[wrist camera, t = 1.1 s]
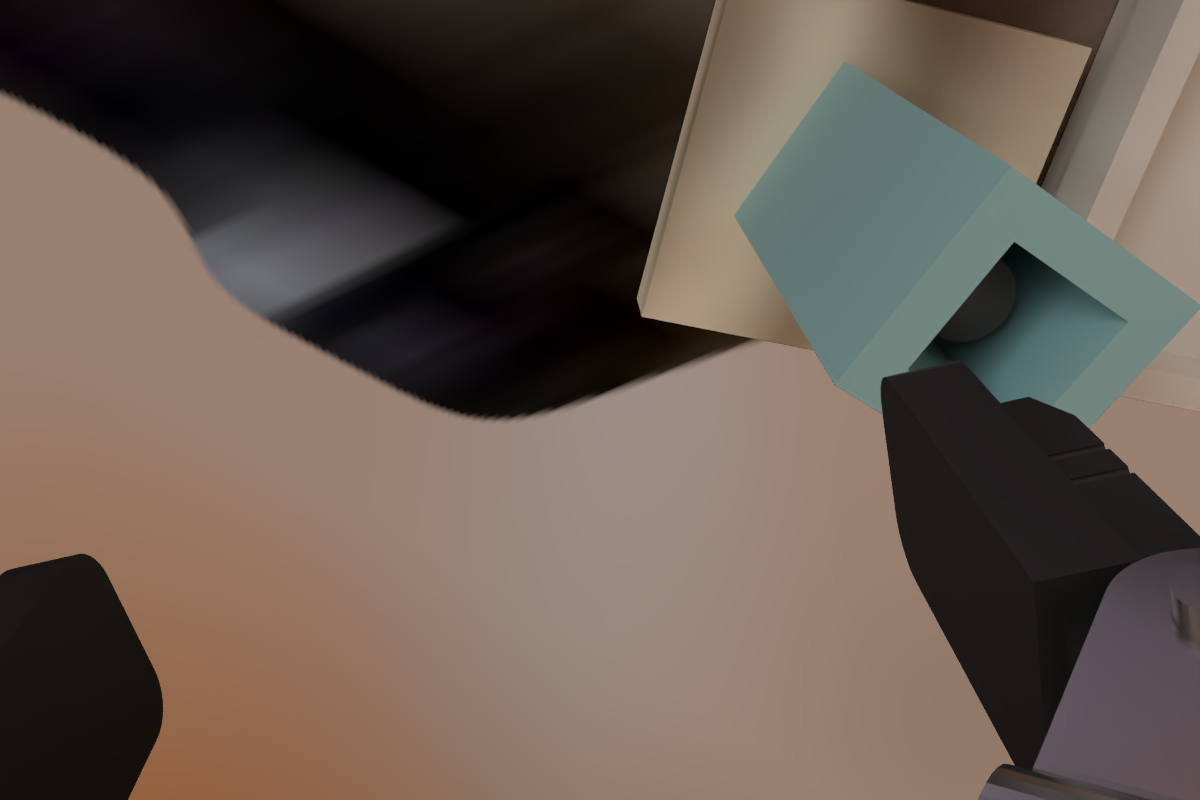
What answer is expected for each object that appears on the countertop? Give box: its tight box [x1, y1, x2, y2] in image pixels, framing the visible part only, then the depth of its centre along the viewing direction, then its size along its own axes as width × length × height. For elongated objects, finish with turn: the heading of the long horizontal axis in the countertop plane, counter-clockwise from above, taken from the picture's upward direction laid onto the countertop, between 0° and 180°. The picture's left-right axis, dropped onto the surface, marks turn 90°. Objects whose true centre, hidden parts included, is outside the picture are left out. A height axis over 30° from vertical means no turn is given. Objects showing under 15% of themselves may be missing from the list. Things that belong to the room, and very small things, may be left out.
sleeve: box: [734, 61, 1200, 428], centre depth 26 cm, size 5×5×11 cm
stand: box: [637, 0, 1092, 350], centre depth 27 cm, size 10×10×10 cm
